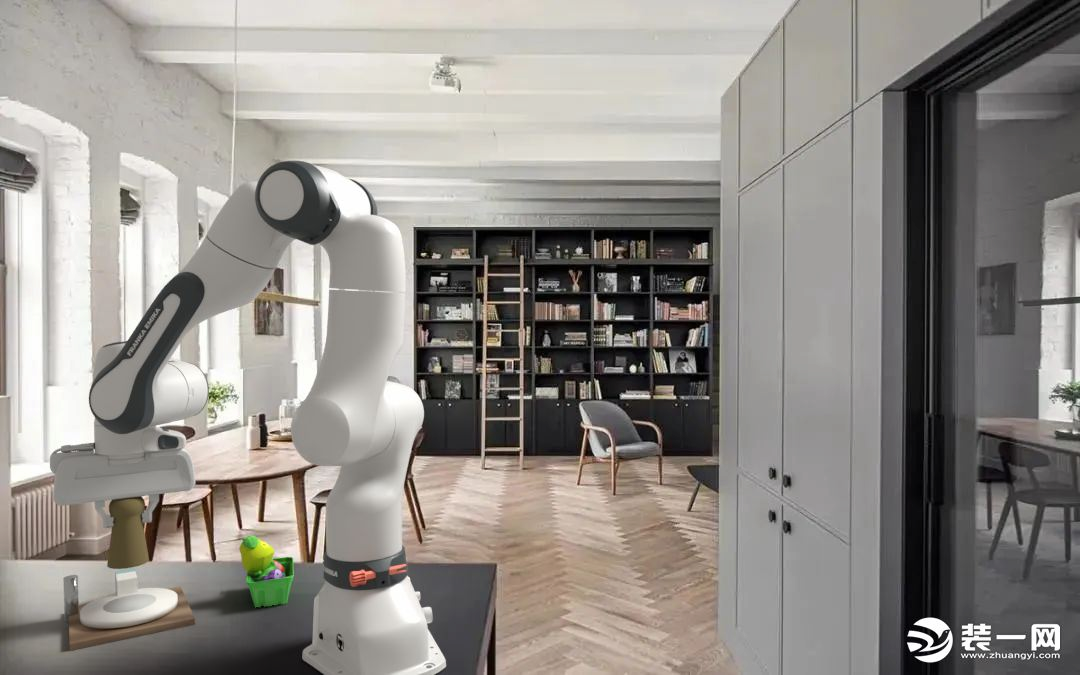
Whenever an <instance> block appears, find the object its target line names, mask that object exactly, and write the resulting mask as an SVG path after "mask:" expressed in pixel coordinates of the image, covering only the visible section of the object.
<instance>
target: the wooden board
mask: <svg viewBox="0 0 1080 675" xmlns="http://www.w3.org/2000/svg"><path fill="white" fill-rule="evenodd" d="M168 589H169V590H172V591H174V592H176V593H177V596H178V604H177V606H176V608H175V609H174V610H173V611H171V612H170V613H168V614H166V615H164V616H162V617H160V618H157V619H155V620H152V621H149V622H145V623H142V624H137V625H133V626H127V627H120V628H91V627H87V626H85V625H83V624H82V623H81V622H80V611H81V609H82V608H83V607H84V606H85V605H86V604H87V603H84V604H79V613H78V614H75V615H71V616H69V622H68V635H69V636H68V638H69V639H68V640H69V645H68V646H69V652H70V651H75V650H80V649H83V648H88V647H93V646H98V645H103V644H107V643H113V642H118V641H122V640H127V639H132V638H137V637H142V636H145V635H146V636H147V635H151V634H155V633H160V632H165V631H169V630H170V631H171V630H174V629H179V628H184V627H188V626H194V625H195V624H196V622H195V621H196V620H195V615H194V614H193V611H192V609H191V607H190V604H189V603H188V600H187V598H186V595H185V594H184V591H183V589H182V587H181V586H180V585H179V586H176V587H170V588H168Z"/></svg>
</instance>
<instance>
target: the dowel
mask: <svg viewBox="0 0 1080 675" xmlns="http://www.w3.org/2000/svg"><path fill="white" fill-rule="evenodd" d="M62 583H63V609H64V614H63V615H64V622H65V623H69V616H71V615H75V614H78V613H79V605H80V604H79V576H78V575H77V574H70V575H66V576H64V577H63V582H62Z"/></svg>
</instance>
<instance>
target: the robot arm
mask: <svg viewBox="0 0 1080 675" xmlns="http://www.w3.org/2000/svg"><path fill="white" fill-rule="evenodd" d="M296 240H298V241H301V242H303V243H305V244H307V245H310V246H315V245H317V244H318V245H320V246H321V247H322V249H324V250H325V252H326V254H327V257H328V260H329V261H328V262H329V284H328V289H329V290H328V306H327V323H326V337H325V342H324V343H325V344H324V349H323V353H322V357H321V360H320V364H319V367H318V370H317V373H316V374H315V375H316V376H315V378H314V381H313V384H312V386H311V388H310V391H309V392H308V394H307V396H306V397H305V398H304V400H303V401H302V402H301V404H300V405H299V406H298V407H297V408H296V410H295V412H294V413H293V416H292V420H291V423H290V435H291V441H292V444H293V446H294V448H295V450H296V451H297V453H298V454H299V456H300V457H301V458H303V459H304V461H306V462H308V463H309V464H312V465H315V466H317V467H318V466H319V467H340V470H339V474H338V476H337V478H336V481H335V483H334V486H333V487H332V489H331V490H330V492H329V494H328V496H327V499H326V503H325V543H326V546H325V547H326V548H325V549H326V550H325V552H324V554H323V561H322V569H323V579H324V580H325V581H324V583H323V585H322V587H321V589H320V590H319V592H318V593H317V594H316V596H315V597H314V600H313V614H312V615H313V617H312V619H313V620H312V643H311V644H310V645H308V646H306V647H305V648H304V649H302V657H301V658H302V660H303V661H304V662H306V663H307V664H308V665H310V666H311V667H313V669H315V670H317V671H319V672H320V673H322V674H323V675H436V674H438V673H440V672H442V671H443V670H444V669H445V668H446V667H447V663H446V662H447V660H446V658H445V656H444V654H443V652H442V651H441V649H440V647H439V646H438V644H437V642H436V641H435V639H434V637H433V635H432V633H431V631H430V630H429V629H428V628H429V627H428V624H431V623H433V620H434V617H433V615H434V614H433V610H432V606H431V607H430V606H424V607H422V605H421V604H420V601H421V592H420V591H415V588H414V586H413V584H412V582H411V578H410V577H409V576H408V575H409V568H408V567H409V566H408V562H409V561H408V556H407V554H406V548H405V546H404V545H403V496H404V495H403V494H404V487H405V481H406V476H407V473H408V472H407V471H408V467H409V463H410V462H409V461H410V457H411V453H412V448H413V445H414V442H415V439H416V437H417V435H418V433H419V431H420V429H421V428H422V425H423V422H424V418H425V410H424V404H423V402H422V399H421V397H420V396H419V394H418V393H417V392H416V391H415V390H414V389H412V387H410V386H408V385H407V384H406V385H405V384H403V383H400V382H394V381H390V380H388V377H389V374H390V371H391V368H392V365H393V363H394V361H395V360H396V357H397V355H398V354H399V353H400V351H401V350H402V348H403V345H404V341H405V338H404V337H405V322H406V321H405V319H406V318H405V317H406V316H405V315H406V314H405V313H406V295H407V294H406V291H407V280H406V279H407V278H406V277H407V273H406V271H407V269H406V257H405V255H406V254H405V247H404V242H403V235H402V233H401V231H400V229H399V227H398V226H397V225H396V224H395V223H394V222H393V221H391V220H390V219H387V218H386V217H382V216H380V215H378V206H377V203H376V201H375V199H374V196H373V195H372V194H371V193H370V191H369V190H368V189H367V188H366V187H365V186H364V185H362V183H360V182H358V180H354V179H351V178H348V177H346V176H344V175H343V174H341V173H339V172H337V171H336V170H333V169H331V168H327V167H324V166H319V165H315V164H311V163H310V162H307V161H302V160H285V161H280V162H276V163H275V164H272V165H270V166H269V167H268V168H266V169H265V171H263V173H262V174H261V176H260V177H259V179H258V181H256V180H254V181H246V182H244V183H242V184H240V185H239V186H238V187H237V188H236V189H235V191H233V193H232V194H231V195H230V196H229V198H227V200H226V201H225V203H224V204H223V206H221V209H220V210H219V212H218V214H216V216H215V218H214V219H213V221H212V223H211V225H210V227H209V229H208V231H207V232H206V235H205V236H204V238H203V240H202V242H201V244H200V245H199V247H198V248H197V249H196V251H195V253H193V256H191V258H190V260H189V261H188V262H187V263H186V264H185V265H184V267H183V268H182V269H181V270H180V271H179V272H178V273H177V274H176V275H174V276H173V277H172V278H171V279H170V280H169V281H168V282H167V283H166V284H165V285H164V286H163V287H162V289H161V290H160V292H159V293H158V294H157V296H156V297H155V299H154V300H153V301H152V303H151V304H150V305H149V307H148V309H147V310H146V312H145V313H144V315H143V316H142V318H141V319H140V321H139V322H138V324H137V325H136V327H135V328H134V330H133V332H132V333H131V335H130V336H129V337H128V340H126V341H116V342H111V343H108V344H105V345H103V346H102V347H100V348H99V349H97V353H96V356H95V357H94V358H95V360H94V364H93V373H92V383H91V385H90V388H89V393H88V405H89V408H90V412H91V413H92V415H93V417H94V421H93V436H94V437H93V438H94V440H93V441H94V442H89V443H87V442H86V443H80V444H72V445H71V444H65V445H64V444H63V445H61V446H60V448H58V449H57V448H56V449H55V450H54V451H53V452H51V454H50V456H49V469H50V472H52V473H53V474H54V476H55V477H54V482H53V494H52V495H53V502H54V503H55V504H56V505H58V506H59V507H63V506H64V507H65V506H72V505H80V504H88V503H94V509H95V511H96V512H97V514H99V516H100V518H101V519H102V528H103V529H110V528H112V527H114V523H113V521H114V517H112V516H111V515H110V514H107V512H106V511H105V510H104V508H106V501H111V500H114V499H123V498H131V497H139V496H141V497H146V496H147V497H148V501H149V504H148V506H147V508H146V509H144V512H143V513H142V514H141V516H142V523H143V524H145V523H146V524H147V523H152V522H153V511H154V510H155V508H156V507H157V505H158V503H159V502H160V495H161V494H162V495H164V494H171V493H172V494H173V493H180V492H188V491H191V490H192V489H193V488H194V487H195V486H196V473H195V466H194V461H193V457H192V455H191V453H190V452H189V451H188V450H187V449H186V448H185V447H186V446H187V437H186V436H185V434H183V433H182V432H180V431H178V430H173V429H168V428H163V427H157V426H161V425H165V424H171V423H173V422H178V421H182V420H187V419H190V418H193V417H194V416H197V415H199V414H200V413H201V412H202V411H203V410H204V409H205V406H206V404H207V402H208V400H209V395H210V392H209V391H210V390H209V389H210V387H209V381H208V379H207V377H206V374H205V373H204V372H203V370H202V369H201V368H200V367H199V366H197V365H196V364H194V363H192V362H185V361H183V360H180V359H177V358H174V357H173V355H174V354H175V352H176V350H177V349H178V347H179V345H181V343H182V341H183V340H184V339H185V337H186V336H187V334H188V333H189V332H190V331H191V330H192V329H194V328H195V327H196V326H199V324H201V323H203V322H204V321H207V320H208V319H211V318H213V317H215V316H217V315H219V314H222V313H225V312H229V311H233V310H235V309H238V308H241V307H244V306H246V305H249V304H250V303H252V302H253V301H254V300H256V298H257V297H258V296H259V295H260V294H261V293H262V291H264V289H265V287H267V285H268V284H269V282H270V280H271V278H272V277H273V274H274V273H275V271H276V268H277V267H278V264H279V262H280V261H281V259H282V256H283V255H284V253H285V251H286V250H287V248H288V247H289V245H291V243H292V242H293V241H296Z"/></svg>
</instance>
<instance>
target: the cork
mask: <svg viewBox="0 0 1080 675" xmlns="http://www.w3.org/2000/svg"><path fill="white" fill-rule="evenodd" d="M145 508H146V503H145V499H144V497H143V496H139V497H131V498H123V499H114V500H110V502H109V505H108V511H109V515H111V516H112V517H114V521H113V523H114V527H111V532H110V533H111V534H110V541H109V549H108V556H107V566H106V567H107V568H109V569H113V570H125V569H131V568H135V567H139V566H142V565H146V564H147V563H148V562H149V561H150V558H149V552H148V546H147V545H148V544H147V539H146V534H145V528H144V523H142V516H141V514H142V513H143V512H144V510H146V509H145Z"/></svg>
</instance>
